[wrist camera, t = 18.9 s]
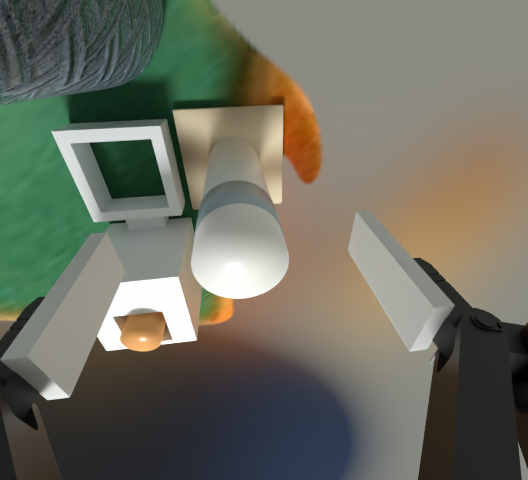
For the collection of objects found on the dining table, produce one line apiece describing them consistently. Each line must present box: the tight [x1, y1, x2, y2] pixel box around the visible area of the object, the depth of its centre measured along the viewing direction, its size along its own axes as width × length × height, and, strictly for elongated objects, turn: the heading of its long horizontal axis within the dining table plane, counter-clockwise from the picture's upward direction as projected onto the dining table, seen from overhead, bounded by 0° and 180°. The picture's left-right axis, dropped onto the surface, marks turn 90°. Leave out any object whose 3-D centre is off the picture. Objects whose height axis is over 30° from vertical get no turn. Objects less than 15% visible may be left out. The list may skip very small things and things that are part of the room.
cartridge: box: [191, 137, 289, 299], centre depth 20 cm, size 5×5×16 cm
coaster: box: [172, 104, 283, 210], centre depth 27 cm, size 10×10×1 cm
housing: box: [51, 119, 202, 351], centre depth 25 cm, size 20×9×10 cm, turn 1°
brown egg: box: [120, 312, 166, 351], centre depth 27 cm, size 4×4×6 cm
